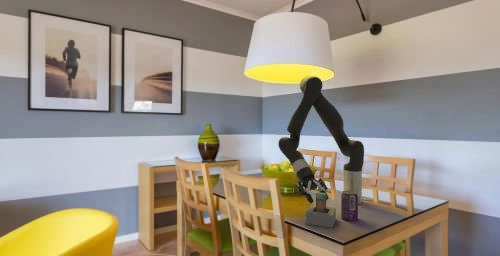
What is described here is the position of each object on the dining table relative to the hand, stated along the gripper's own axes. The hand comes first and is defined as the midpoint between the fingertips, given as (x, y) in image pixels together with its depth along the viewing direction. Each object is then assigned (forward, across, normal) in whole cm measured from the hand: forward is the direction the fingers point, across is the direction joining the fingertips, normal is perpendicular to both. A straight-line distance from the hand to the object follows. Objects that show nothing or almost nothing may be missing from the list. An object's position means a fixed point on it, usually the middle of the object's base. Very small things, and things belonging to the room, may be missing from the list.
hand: (319, 201), depth 122 cm
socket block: (+7, 0, +5) cm, 9 cm away
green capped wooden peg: (+7, 0, +6) cm, 9 cm away
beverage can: (+10, +13, +3) cm, 17 cm away
